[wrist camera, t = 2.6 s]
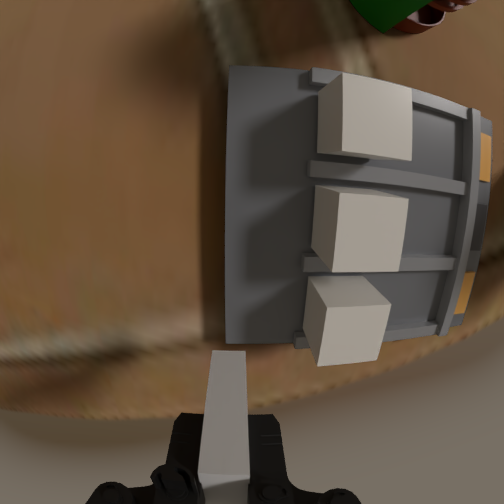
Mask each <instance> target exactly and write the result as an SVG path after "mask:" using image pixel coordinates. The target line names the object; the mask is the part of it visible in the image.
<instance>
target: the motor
mask: <svg viewBox="0 0 504 504" xmlns="http://www.w3.org/2000/svg"><path fill="white" fill-rule="evenodd" d="M476 1H477V0H350V2H351V3H352V5H353V6H354V7H355V9H356V10H357V11H358V12H359V13H360V14H361V15H362V16H363V17H364V18H365V19H366V20H367V21H368V22H369V23H370V24H371V25H372V26H374V27H375V28H376V29H378V30H379V31H381V32H382V33H385V32H386V31H387V30H389V29H390V28H392V27H393V28H395V29H398V30H400V31H403V32H406V33H412V34H417V33H422V32H424V31H426V30H428V29H430V28H432V27H434V26H436V25H438V24H440V23H441V22H442V21H443V19H444V17H445V12H455V11H457V10H459V9H461V8H462V7H463V6H466V5H469V4H472V3H474V2H476Z"/></svg>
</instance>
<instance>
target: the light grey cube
mask: <svg viewBox="0 0 504 504" xmlns="http://www.w3.org/2000/svg"><path fill="white" fill-rule="evenodd" d="M408 201H409V199H407V198H404V197H400V196H396V195H392V194H389V193H385V192H381V191H377V190H372V189H362V188H350V187H337V186H323V185H315V201H314V216H313V230H312V243H311V248H312V249H313V250H314V251H315V253H316V254H317V255H318V256H319V257H320V259H321V260H322V261H323V262H324V263H325V265H326V266H327V267H328V268H329V269H330V271H331V272H398V271H399V265H400V260H401V254H402V248H403V241H404V234H405V227H406V219H407V211H408Z"/></svg>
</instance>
